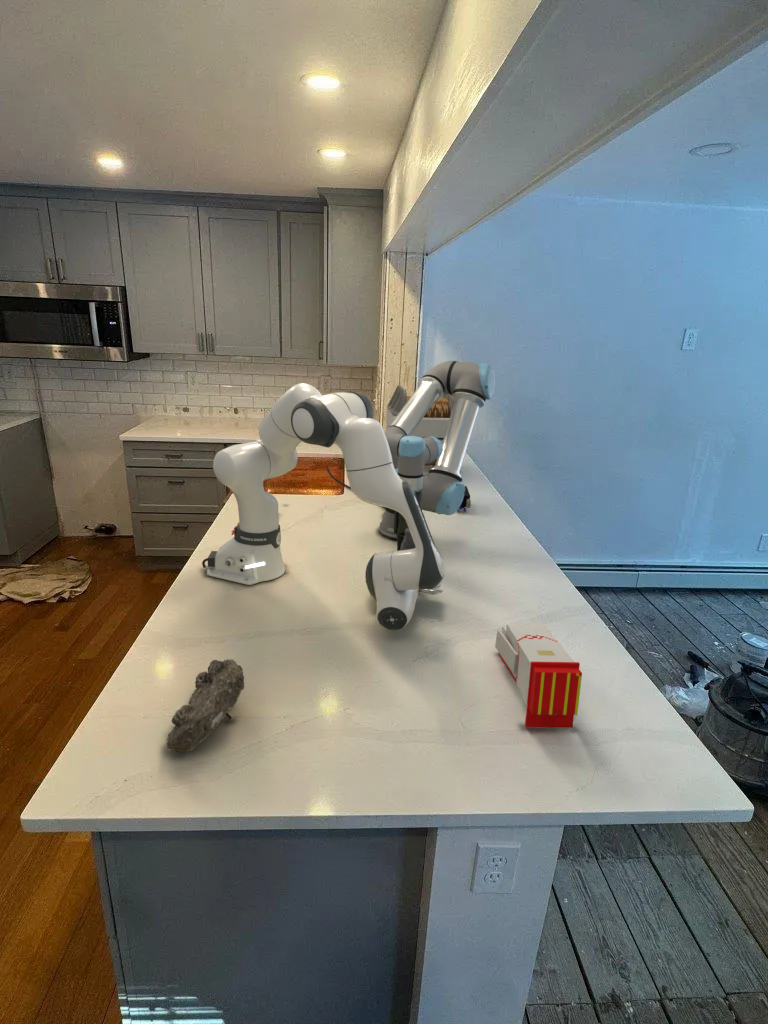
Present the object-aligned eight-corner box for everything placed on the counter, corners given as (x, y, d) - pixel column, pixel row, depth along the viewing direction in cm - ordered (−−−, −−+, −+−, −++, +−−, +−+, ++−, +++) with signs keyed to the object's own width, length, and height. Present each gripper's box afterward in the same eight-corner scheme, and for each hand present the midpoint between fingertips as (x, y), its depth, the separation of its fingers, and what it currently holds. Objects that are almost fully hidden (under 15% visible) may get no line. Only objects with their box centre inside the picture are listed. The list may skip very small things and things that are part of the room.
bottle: (395, 585, 163) (399, 527, 157) (413, 584, 164) (417, 526, 158) (401, 594, 158) (404, 534, 152) (419, 592, 159) (423, 533, 153)
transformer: (382, 463, 289) (386, 382, 275) (445, 464, 293) (451, 384, 279) (390, 482, 257) (394, 392, 243) (460, 483, 261) (468, 394, 247)
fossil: (192, 660, 117) (244, 628, 112) (224, 691, 120) (276, 661, 115) (142, 746, 98) (202, 712, 93) (182, 779, 101) (242, 748, 96)
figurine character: (470, 516, 223) (465, 500, 237) (473, 499, 220) (467, 484, 233) (453, 516, 223) (449, 500, 236) (455, 498, 220) (451, 483, 233)
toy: (542, 608, 134) (591, 669, 104) (537, 660, 136) (583, 734, 107) (491, 607, 133) (526, 668, 104) (487, 660, 136) (520, 733, 107)
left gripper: (443, 582, 144) (447, 560, 157) (364, 573, 147) (374, 552, 160) (441, 604, 146) (445, 581, 159) (363, 595, 149) (373, 572, 162)
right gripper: (384, 482, 174) (381, 551, 182) (413, 499, 160) (408, 573, 168) (405, 479, 178) (401, 548, 185) (435, 496, 163) (430, 569, 171)
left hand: (409, 566), depth 159 cm, fingers closed on bottle, 5 cm apart
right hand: (404, 560), depth 177 cm, fingers closed on cap, 4 cm apart
